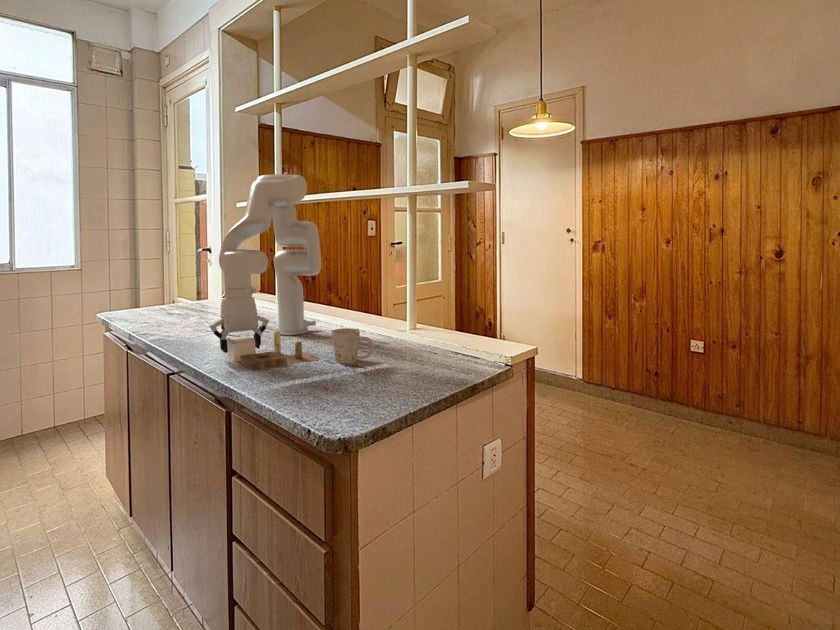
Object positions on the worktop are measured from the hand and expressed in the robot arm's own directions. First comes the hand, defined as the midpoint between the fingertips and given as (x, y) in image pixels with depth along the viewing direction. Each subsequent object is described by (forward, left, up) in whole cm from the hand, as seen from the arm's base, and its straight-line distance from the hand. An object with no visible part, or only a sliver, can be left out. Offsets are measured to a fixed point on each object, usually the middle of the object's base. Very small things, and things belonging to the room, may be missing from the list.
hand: (241, 349), depth 156 cm
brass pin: (-11, +1, -4) cm, 12 cm away
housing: (0, 0, -4) cm, 4 cm away
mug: (-26, +22, -4) cm, 34 cm away
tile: (-14, +10, -4) cm, 18 cm away
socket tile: (-3, +10, -4) cm, 11 cm away
